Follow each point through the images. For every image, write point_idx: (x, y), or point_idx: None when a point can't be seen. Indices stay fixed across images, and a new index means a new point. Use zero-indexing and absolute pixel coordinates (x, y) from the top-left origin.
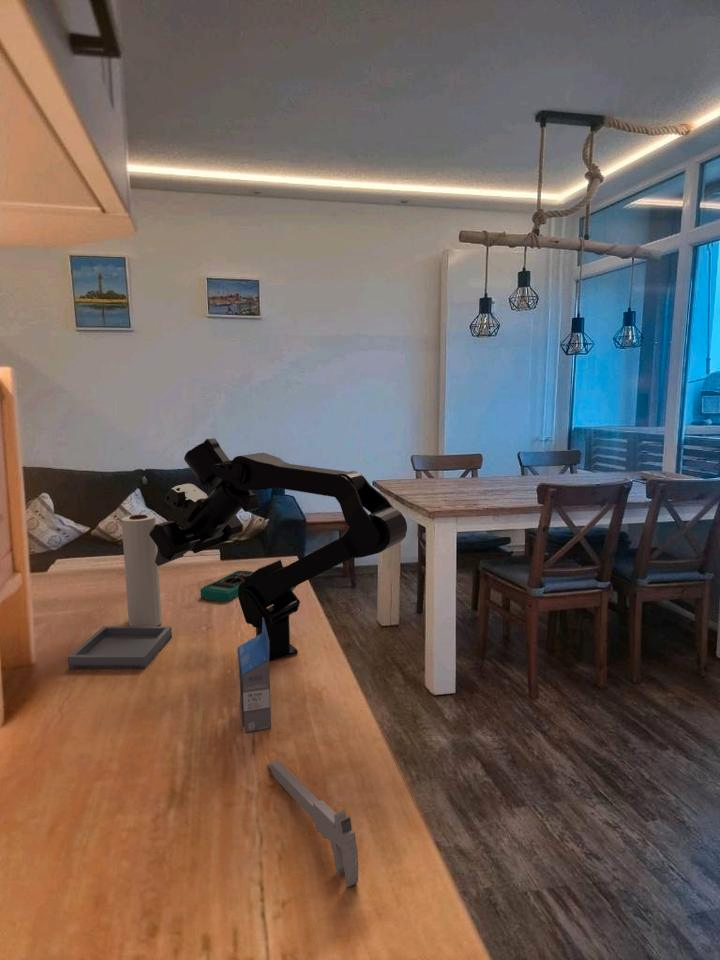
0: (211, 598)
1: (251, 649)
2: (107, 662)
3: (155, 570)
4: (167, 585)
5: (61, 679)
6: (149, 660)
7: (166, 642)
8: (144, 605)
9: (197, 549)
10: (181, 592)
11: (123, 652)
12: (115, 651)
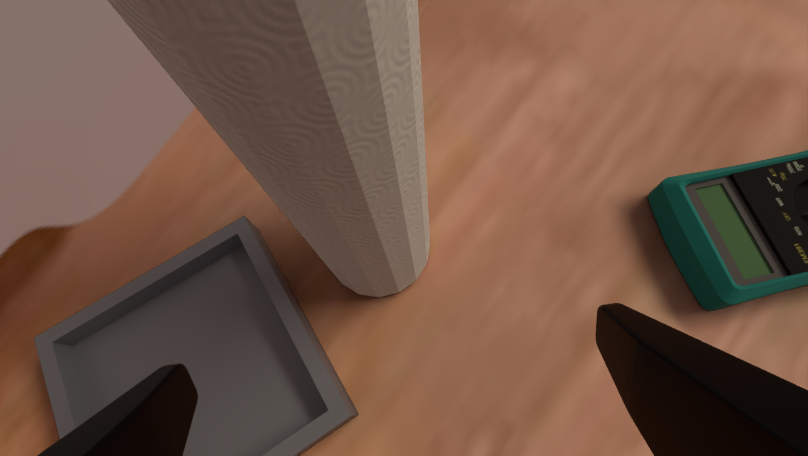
0: (668, 242)
1: None
2: None
3: (361, 216)
4: (626, 31)
5: (8, 389)
6: None
7: (310, 447)
8: (329, 264)
9: (626, 380)
10: (625, 108)
11: None
12: None
